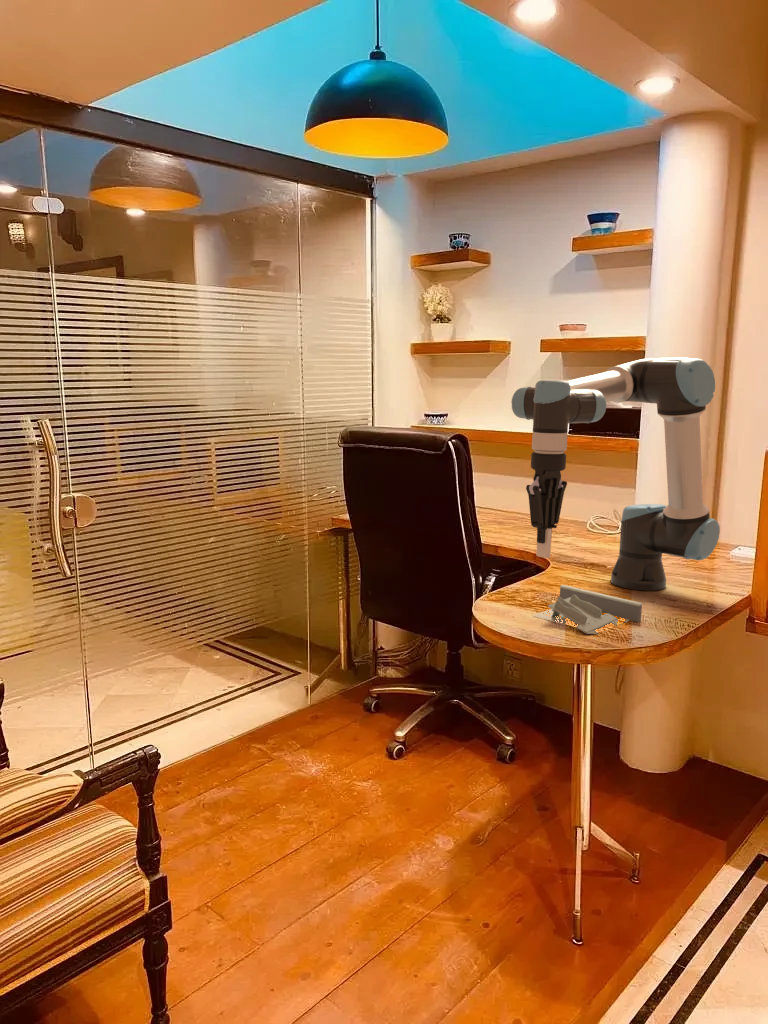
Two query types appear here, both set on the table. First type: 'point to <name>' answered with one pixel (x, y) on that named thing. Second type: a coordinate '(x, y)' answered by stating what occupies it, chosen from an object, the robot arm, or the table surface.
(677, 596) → the table surface
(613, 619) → the metal bracket
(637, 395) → the robot arm
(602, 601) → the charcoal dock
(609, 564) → the table surface
